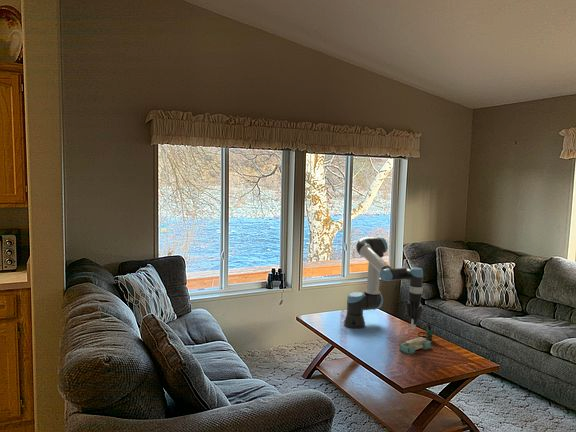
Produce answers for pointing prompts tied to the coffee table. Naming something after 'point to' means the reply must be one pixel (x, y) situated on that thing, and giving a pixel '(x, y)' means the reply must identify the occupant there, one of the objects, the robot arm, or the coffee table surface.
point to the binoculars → (429, 333)
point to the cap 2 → (427, 345)
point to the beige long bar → (416, 343)
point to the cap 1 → (407, 349)
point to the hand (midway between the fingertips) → (413, 328)
